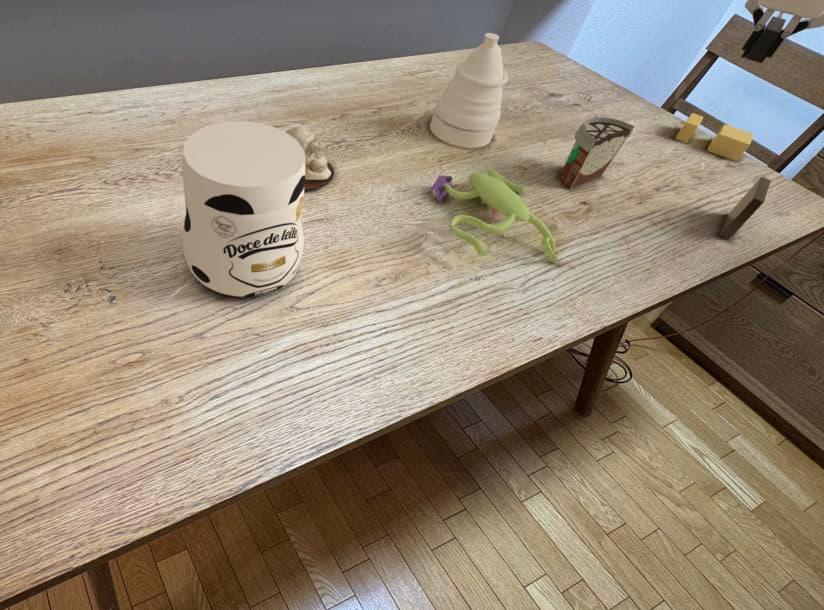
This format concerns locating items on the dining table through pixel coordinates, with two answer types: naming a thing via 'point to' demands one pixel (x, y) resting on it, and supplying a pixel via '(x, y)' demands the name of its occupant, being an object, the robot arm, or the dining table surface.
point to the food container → (594, 149)
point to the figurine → (493, 207)
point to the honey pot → (472, 98)
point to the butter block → (730, 142)
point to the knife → (766, 38)
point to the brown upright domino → (745, 208)
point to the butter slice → (689, 127)
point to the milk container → (243, 207)
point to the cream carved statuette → (312, 158)
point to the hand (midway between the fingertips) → (752, 57)
